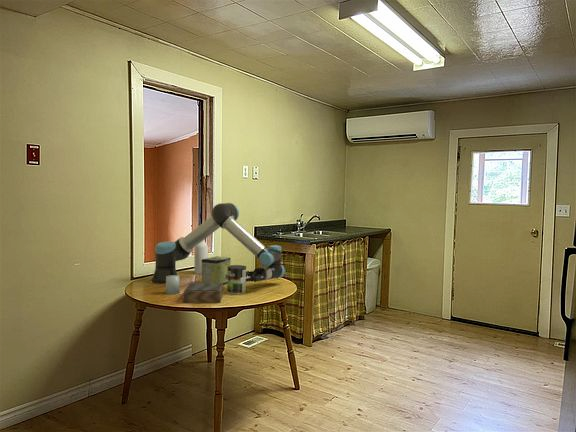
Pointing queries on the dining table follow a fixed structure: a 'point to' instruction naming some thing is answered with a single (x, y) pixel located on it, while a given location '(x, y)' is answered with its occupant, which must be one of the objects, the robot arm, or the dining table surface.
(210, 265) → the protein box
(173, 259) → the robot arm
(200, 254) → the alcohol
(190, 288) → the podium
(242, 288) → the coffee can
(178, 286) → the pale glossy cylinder
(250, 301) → the dining table surface
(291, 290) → the dining table surface
